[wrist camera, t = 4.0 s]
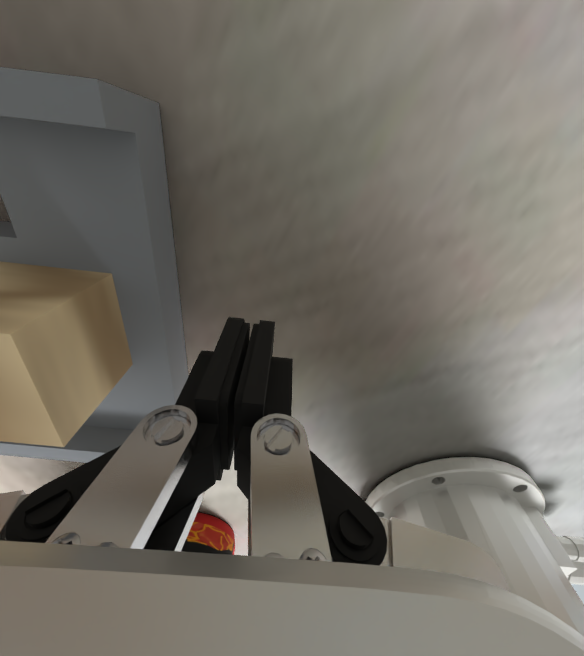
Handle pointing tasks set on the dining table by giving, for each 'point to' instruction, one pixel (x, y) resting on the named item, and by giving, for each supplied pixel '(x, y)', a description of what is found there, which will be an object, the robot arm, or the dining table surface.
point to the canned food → (209, 536)
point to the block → (56, 350)
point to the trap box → (96, 229)
